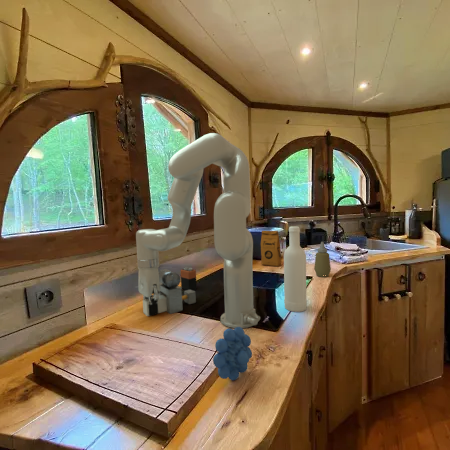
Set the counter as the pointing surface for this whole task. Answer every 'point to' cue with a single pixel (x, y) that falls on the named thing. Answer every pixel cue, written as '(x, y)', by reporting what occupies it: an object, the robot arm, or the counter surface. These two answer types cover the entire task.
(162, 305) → the white mallet
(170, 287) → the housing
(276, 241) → the coffee package
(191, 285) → the battery
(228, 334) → the grapes
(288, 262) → the bottle
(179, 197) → the robot arm
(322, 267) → the squeeze bottle
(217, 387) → the counter surface
